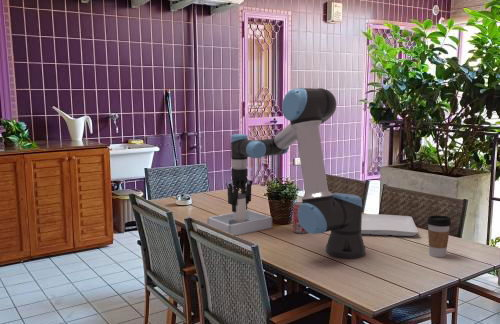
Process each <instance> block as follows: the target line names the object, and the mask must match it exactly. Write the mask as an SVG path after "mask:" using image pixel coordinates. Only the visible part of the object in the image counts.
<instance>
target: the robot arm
mask: <svg viewBox="0 0 500 324" xmlns="http://www.w3.org/2000/svg"><path fill="white" fill-rule="evenodd" d="M336 110H337V100H336V97H335V95H334V94H333V93H332V92H331V91H330V90H329V89H326V88H317V87H316V88H315V87H313V88H312V87H311V88H310V87H309V88H307V87H304V88H303V87H299V88H298V87H297V88H292V89H290V90H289V91H287V93H286V94H285V95H284V98H283V99H282V104H281V111H282V112H281V113H282V115H283V117H285V118H284V119H286V120H287V121H289V122H290V123H289V124H287V125H286V126H285V127H284V128H283V129H282V130H280V131H279V132H278V133H276V135H274V136H273V137H272V138H264V139H249V138H248V135H247V134H245V133H234V134H232V135H231V136H230V160H231V161H230V167H231V171H230V172H231V173H230V174H231V180H230V182H226V184H225V185H226V188H227V204H229V205H231V213H233V218H234V219H238V205H236V204H237V198H238V193H239V191H240V193H244V194H246V210H248V204H250V202H251V201H252V184H253V180H250V179H248V175H249V174H248V172H249V171H248V165H249V163H248V162H249V161H248V159H249V158H252V159H261V158H262V157H271V156H281V155H285V154H287V153H288V151H289V148H290V146H291V145H293V143H295V142H297V148H298V154H299V155H298V156H299V159H300V160H299V161H300V167H301V168H300V169H301V174H302V181H303V188H304V195H303V196H302V198H301V202H302V203H303V204H302V205H301V206H300V207H299V210H298V220H299V223H300V225H301V226H302V228H303V229H305V231H307V233H309V234H311V235H317V234H324V233H326V232H327V233H328V232H330V233H329V237H328V241H327V243H326V246H325V252H326V254H327V255H330V256H331V257H333V258H334V257H335V258H339V259H358V258H361V257H364V256H365V255H366V245H364V240H363V234H361V225H362V214H363V200H362V198H361V197H360V196H359V195H355V194H352V193H344V192H342V193H341V192H334V193H333V192H331V191H329V187H328V182H327V181H328V180H327V174H326V168H325V159H324V154H323V148H322V142H321V134H320V128H319V127H320V125H322V124H325V123H326V122H327V121H328V120H329V119H330V118H331V117H333V115H334V114H335V113H336Z"/></svg>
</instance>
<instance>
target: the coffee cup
mask: <svg viewBox="0 0 500 324" xmlns="http://www.w3.org/2000/svg"><path fill="white" fill-rule="evenodd" d="M427 224H428V226H427V238H428V254H429V256H431V257H434V258H446V256H447V251H448V250H447V248H448V243H449V236H450V226H451V225H452V222H451V217H450V216H448V215H447V216H446V215H429V216H428V217H427Z"/></svg>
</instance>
